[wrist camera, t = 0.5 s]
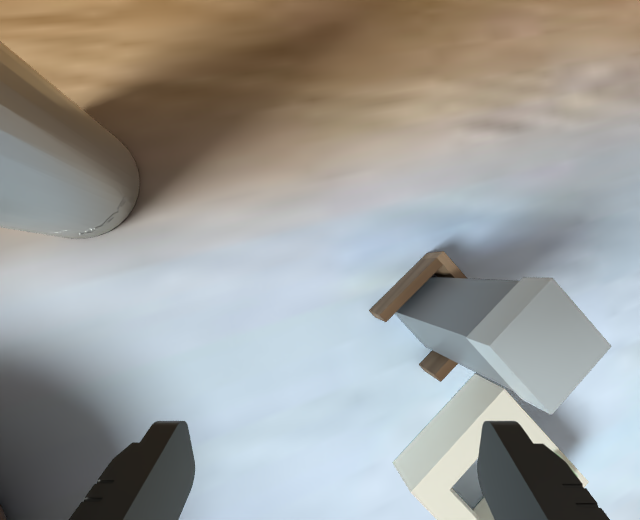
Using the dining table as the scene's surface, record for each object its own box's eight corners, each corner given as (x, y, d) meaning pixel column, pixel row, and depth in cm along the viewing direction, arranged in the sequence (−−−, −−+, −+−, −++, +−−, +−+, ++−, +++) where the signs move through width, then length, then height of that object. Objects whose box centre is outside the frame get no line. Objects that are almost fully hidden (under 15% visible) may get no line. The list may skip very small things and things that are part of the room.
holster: (368, 310, 30) (379, 315, 27) (427, 253, 31) (443, 251, 28) (424, 370, 30) (440, 381, 27) (480, 312, 31) (501, 317, 28)
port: (392, 462, 29) (413, 497, 25) (474, 373, 31) (509, 391, 26) (472, 545, 30) (507, 594, 26) (549, 455, 32) (595, 486, 27)
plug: (390, 310, 30) (489, 345, 16) (426, 274, 30) (552, 277, 17) (424, 348, 30) (551, 415, 16) (460, 312, 31) (611, 346, 17)
